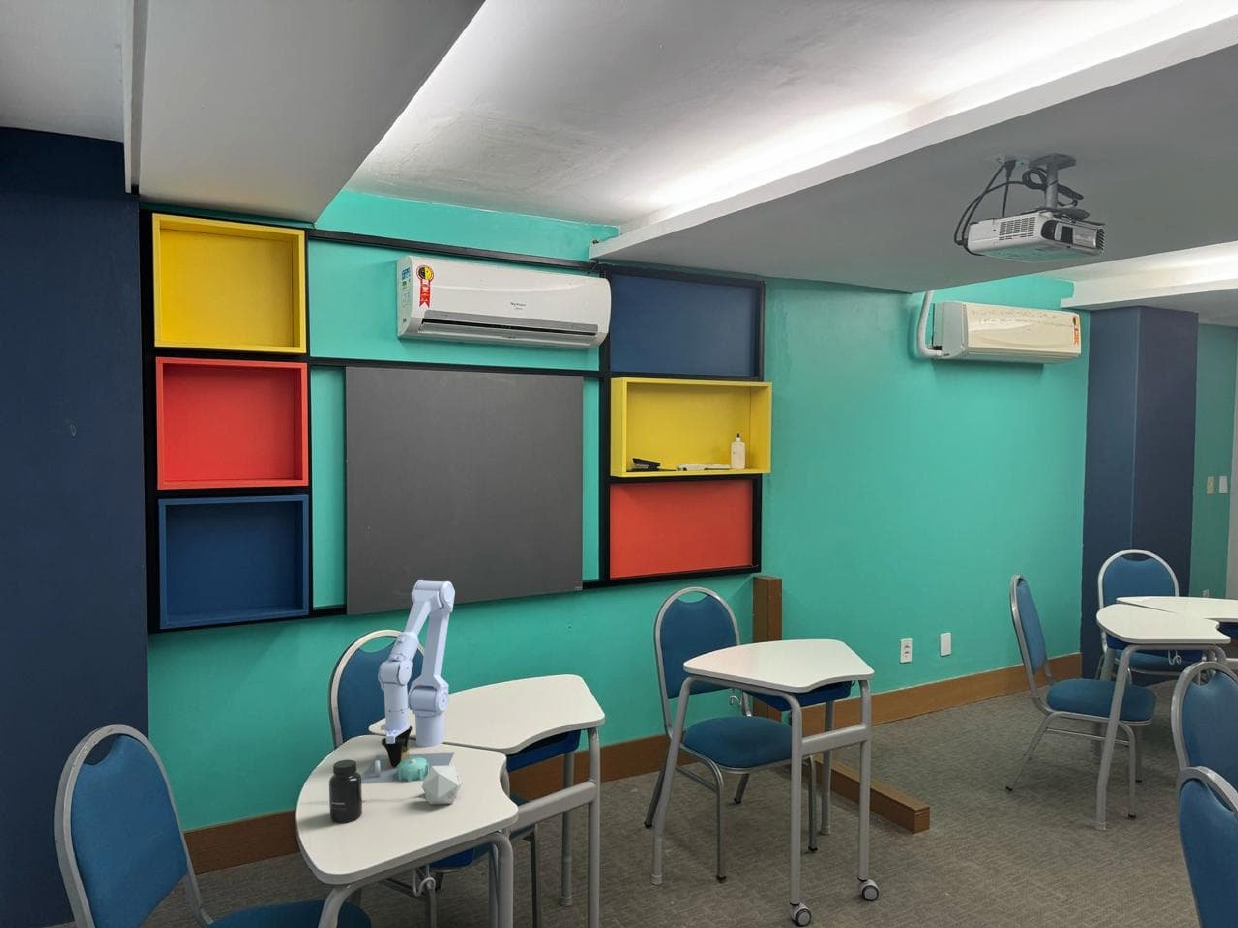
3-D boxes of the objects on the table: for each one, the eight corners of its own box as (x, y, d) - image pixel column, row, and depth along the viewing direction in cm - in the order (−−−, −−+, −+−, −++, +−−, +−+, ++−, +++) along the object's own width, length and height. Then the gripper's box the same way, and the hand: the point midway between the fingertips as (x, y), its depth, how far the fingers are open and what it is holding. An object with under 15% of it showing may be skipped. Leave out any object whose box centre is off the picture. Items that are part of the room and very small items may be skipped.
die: (442, 816, 184) (466, 775, 186) (410, 795, 185) (434, 755, 188) (449, 813, 192) (472, 774, 194) (418, 793, 193) (441, 754, 196)
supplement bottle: (331, 826, 179) (328, 771, 178) (328, 813, 185) (326, 760, 185) (364, 819, 182) (362, 765, 181) (360, 807, 188) (358, 754, 187)
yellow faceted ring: (391, 758, 212) (390, 746, 212) (410, 758, 213) (410, 746, 212) (386, 767, 207) (385, 754, 207) (406, 766, 208) (405, 753, 207)
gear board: (377, 758, 215) (376, 740, 215) (454, 756, 216) (453, 737, 216) (357, 787, 198) (356, 767, 198) (441, 784, 199) (440, 764, 198)
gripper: (387, 699, 217) (390, 750, 217) (372, 718, 202) (374, 773, 203) (415, 698, 217) (417, 749, 217) (401, 717, 202) (403, 772, 203)
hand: (398, 761), depth 210 cm, fingers closed on yellow faceted ring, 5 cm apart
